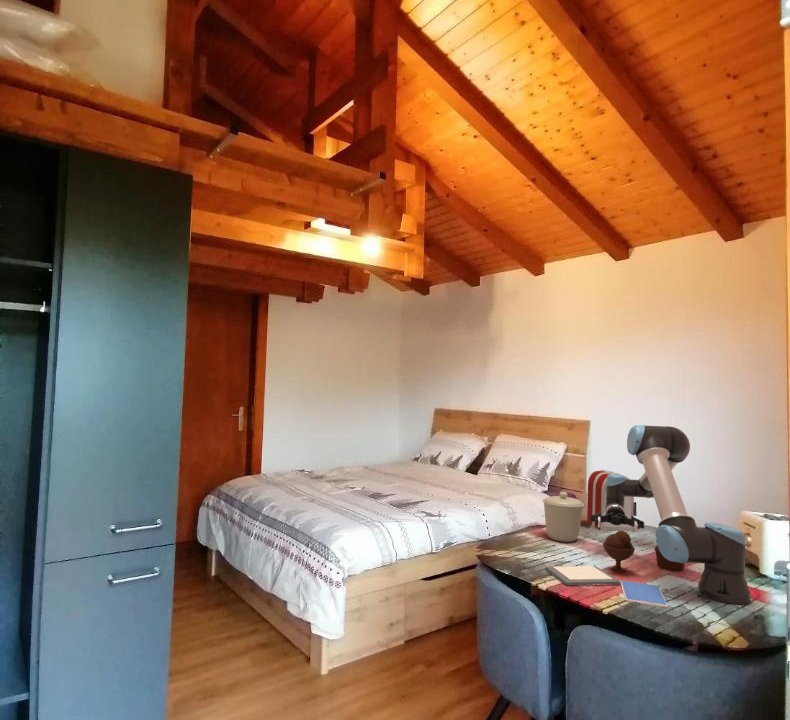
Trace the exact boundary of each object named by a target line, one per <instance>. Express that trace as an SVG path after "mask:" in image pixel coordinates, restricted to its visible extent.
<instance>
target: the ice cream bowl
mask: <svg viewBox="0 0 790 720" xmlns="http://www.w3.org/2000/svg"><path fill="white" fill-rule="evenodd" d="M602 544H603V545H602V546H603V549H604V551H605V553H607V555H608V556H609V557H610V558H611V559H613V560H615V565H614V566H612V567H610V569H611V570H610V571H611V572H612V571H613V572H612V573H615V572H616V573H615V574H620V573H622V574H626V573H627V570H626V569H625V568H623V567H622V566H621V565H622V561H626V560H627V559H629V558H631V557H632V555H634V553H635V549H636V547H635V546H633V544H632V539H631V536H630V534H629V532H624V531H618V532H616V533H612V534H609V535H608V536H607V537H606V538H605V541H604V542H602ZM625 572H626V573H625Z"/></svg>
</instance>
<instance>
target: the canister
mask: <svg viewBox="0 0 790 720" xmlns="http://www.w3.org/2000/svg"><path fill="white" fill-rule="evenodd" d="M542 503H543V509H544V521H545V529H546V535H547V536H548V538H549V539H551V540H554V541H557V542H564V543H572V542H575V541H577V539H578V537H579V535H580V528H581V522H582V515H583V508H584V507H585V503H584V502H582V501H581V500H579V499H577V498H574V497H568V492H566V491H560V492H559V494H558V495H557V496H556V495H555V496H554V495H553V496H547V497H546V498H543V499H542Z"/></svg>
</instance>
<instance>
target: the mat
mask: <svg viewBox="0 0 790 720" xmlns="http://www.w3.org/2000/svg"><path fill="white" fill-rule="evenodd" d="M592 566H593V567H595V568H597V569H598V570H600V571H601V572H603V573H605V574H606V575H608V576H609V577H611V578H612V579H613V580H593V581H570V580H568V579H567V578H566V577H564V576H563V575H561V574H560V573H559V572H557V571H556V570H555V569H553V567H554V566H545V571H546V570H547V571H546V572H547V573H549V572H550V573H551V576H553V577H554V576H555V577H556V578H555V577H554V578H555V579H557V580H558V579H559V580H560V581H559V580H558V581H559V582H561V583H562V582H563V583H564V584H563V583H562V584H563V585H565V584H566V585H588V584H589V585H593V584H595V585H596V584H611V585H610V586H621V584H620V581H621V580H619V579H617V578H615V577H614V576H613V575H610V574H609V573H607V572H606V571H604V570H602V569H601V568H600V567H598V566H596V565H592ZM566 567H568V565H567V566H566ZM550 573H549V574H550ZM566 585H565V586H566Z"/></svg>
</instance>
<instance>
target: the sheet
mask: <svg viewBox="0 0 790 720" xmlns="http://www.w3.org/2000/svg"><path fill="white" fill-rule="evenodd" d="M567 566H568V565H567ZM567 566H552V567H553V569H555V570H556V571H557V572H559V573H560V574H561V575H563V576H564V577H566V578H567V579H568V580H570V581H593V580H613V579H612V578H611V577H609V576H608V575H606V574H605V573H603V572H601V571H600V570H598V569H597V568H595V567H593V566H594V565H589V566H588V565H585V566H584V565H583V566H580V565H579V566H573V565H572V566H568V567H567Z"/></svg>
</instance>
